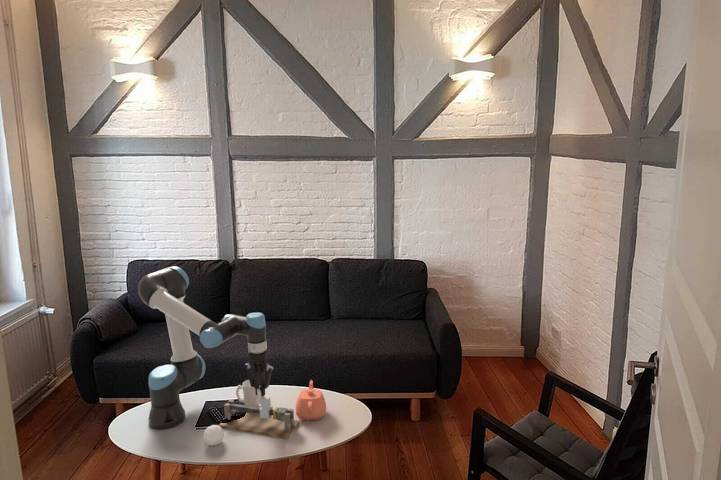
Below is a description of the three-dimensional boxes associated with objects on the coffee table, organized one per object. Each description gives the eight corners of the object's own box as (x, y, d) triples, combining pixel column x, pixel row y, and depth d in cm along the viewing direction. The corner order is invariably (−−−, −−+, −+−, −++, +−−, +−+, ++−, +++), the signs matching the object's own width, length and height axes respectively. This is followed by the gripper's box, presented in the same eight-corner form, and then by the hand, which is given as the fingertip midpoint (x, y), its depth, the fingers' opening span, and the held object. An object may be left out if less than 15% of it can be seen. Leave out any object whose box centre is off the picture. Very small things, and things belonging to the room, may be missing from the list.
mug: (260, 403, 243) (259, 379, 240) (257, 411, 236) (256, 386, 234) (239, 403, 243) (237, 379, 241) (235, 411, 237) (233, 386, 234)
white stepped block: (260, 417, 222) (259, 399, 220) (264, 412, 225) (263, 394, 224) (268, 419, 220) (267, 400, 219) (273, 414, 224) (272, 396, 222)
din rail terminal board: (218, 427, 224) (217, 408, 222) (233, 412, 235) (232, 394, 233) (288, 439, 215) (287, 419, 213) (299, 423, 226) (299, 404, 224)
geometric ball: (218, 451, 212) (218, 444, 206) (200, 443, 213) (199, 435, 207) (227, 434, 217) (227, 426, 211) (209, 426, 218) (209, 418, 212)
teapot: (326, 402, 243) (325, 378, 240) (326, 426, 224) (325, 400, 221) (297, 403, 242) (296, 379, 240) (294, 428, 223) (293, 401, 220)
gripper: (239, 352, 216) (242, 404, 221) (267, 355, 212) (271, 409, 217) (248, 344, 223) (251, 396, 228) (276, 348, 219) (279, 400, 224)
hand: (261, 402), depth 222 cm, fingers closed
